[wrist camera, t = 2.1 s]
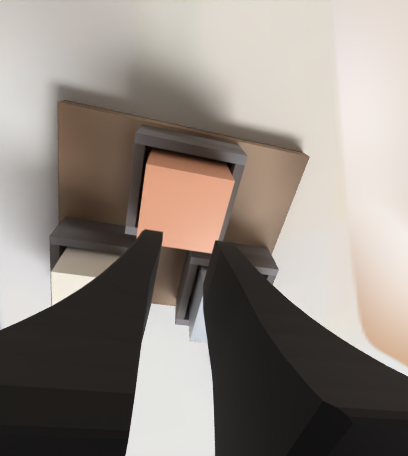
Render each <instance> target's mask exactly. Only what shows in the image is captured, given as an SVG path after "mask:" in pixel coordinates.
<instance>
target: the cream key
mask: <svg viewBox="0 0 408 456" xmlns="http://www.w3.org/2000/svg"><path fill="white" fill-rule="evenodd" d="M121 255H122V254H117V253H110V252H103V251H96V250H89V249H82V248H75V247H68V246H67V248H66V250H65V251H64V253H63V254H62V256H61V257H60V259H59V260H58V262H57V263H56V265H55V266H54V268H53V270H52V271H51V289H52V306H53V305H54V304H56V303H58V302H59V301H61V300H63V299H64V298H66V297H68V296H69V295H71V294H72V293H74V292H76V291H77V290H79V289H80V288H82V287H83V286H85V285H86V284H88V283H89V282H90V281H92V280H93V279H94V278H96V277H97V276H98V275H100V274H101V273H102V272H103V271H105V270H106V269H107V268H108V267H109V266H110V265H111V264H113V263H114V262H115V261H116V260H117V259H118V258H119V257H120V256H121Z"/></svg>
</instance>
